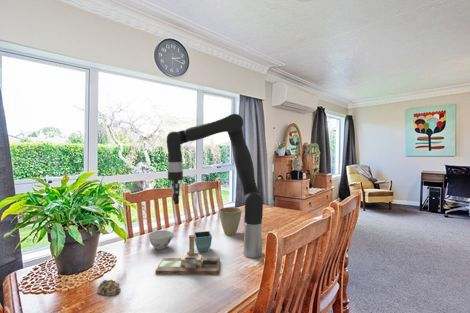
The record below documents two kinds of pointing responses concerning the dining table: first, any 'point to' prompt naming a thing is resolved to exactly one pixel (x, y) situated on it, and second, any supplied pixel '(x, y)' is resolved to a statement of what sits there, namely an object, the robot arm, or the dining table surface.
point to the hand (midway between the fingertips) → (175, 202)
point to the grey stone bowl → (160, 239)
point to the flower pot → (203, 241)
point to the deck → (188, 265)
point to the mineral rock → (109, 288)
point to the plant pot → (230, 219)
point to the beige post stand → (192, 252)
